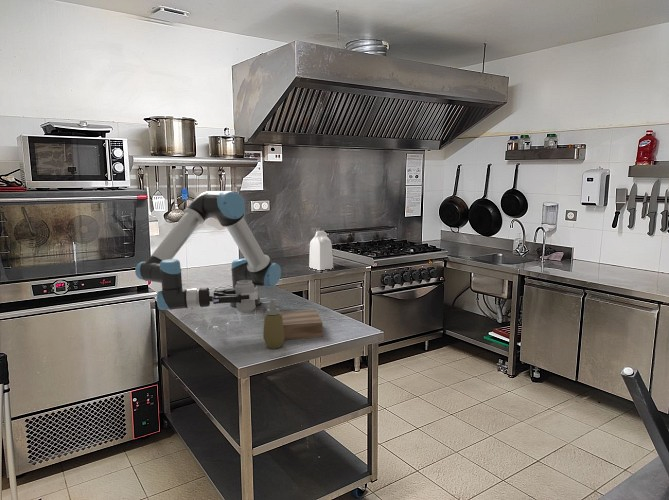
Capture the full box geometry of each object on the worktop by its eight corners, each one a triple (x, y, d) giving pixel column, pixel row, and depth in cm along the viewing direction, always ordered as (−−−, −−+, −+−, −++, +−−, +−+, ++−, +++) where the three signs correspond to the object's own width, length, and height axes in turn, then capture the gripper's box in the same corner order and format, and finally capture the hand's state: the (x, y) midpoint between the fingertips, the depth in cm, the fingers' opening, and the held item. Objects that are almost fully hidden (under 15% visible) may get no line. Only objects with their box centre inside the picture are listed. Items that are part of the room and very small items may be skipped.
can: (256, 307, 197) (255, 278, 195) (254, 312, 189) (252, 283, 187) (238, 307, 196) (236, 279, 194) (235, 313, 189) (233, 283, 187)
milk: (322, 266, 334) (321, 229, 330) (333, 268, 326) (332, 230, 322) (309, 269, 326) (307, 231, 322) (320, 271, 318) (319, 232, 314)
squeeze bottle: (273, 351, 174) (271, 303, 171) (259, 346, 179) (256, 300, 177) (289, 345, 180) (287, 299, 177) (275, 341, 185) (273, 296, 183)
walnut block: (274, 326, 203) (273, 312, 203) (316, 323, 207) (315, 309, 206) (277, 340, 186) (276, 325, 185) (322, 336, 189) (322, 322, 188)
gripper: (201, 300, 199) (257, 295, 203) (197, 314, 179) (258, 309, 183) (200, 282, 198) (256, 278, 202) (195, 294, 178) (257, 290, 182)
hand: (257, 293), depth 193 cm, fingers closed on can, 7 cm apart
